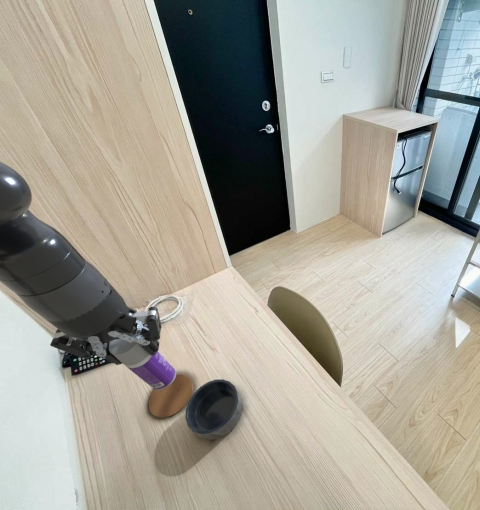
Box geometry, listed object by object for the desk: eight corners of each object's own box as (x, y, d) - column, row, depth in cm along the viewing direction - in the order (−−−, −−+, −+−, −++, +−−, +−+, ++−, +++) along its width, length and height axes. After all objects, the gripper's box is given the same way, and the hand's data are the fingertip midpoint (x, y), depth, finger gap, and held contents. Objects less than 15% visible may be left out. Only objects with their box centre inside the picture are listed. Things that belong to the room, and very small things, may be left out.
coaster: (146, 424, 63) (145, 424, 62) (152, 382, 69) (151, 382, 69) (192, 408, 65) (192, 408, 65) (193, 369, 72) (193, 368, 72)
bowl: (193, 448, 59) (184, 442, 56) (194, 397, 67) (186, 388, 63) (245, 428, 62) (240, 421, 58) (241, 381, 70) (235, 372, 66)
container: (181, 374, 56) (146, 337, 45) (160, 394, 53) (117, 360, 42) (167, 362, 57) (130, 324, 47) (145, 381, 54) (101, 345, 44)
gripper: (-8, 335, 32) (84, 389, 44) (130, 303, 35) (181, 361, 47) (22, 288, 37) (97, 348, 49) (140, 264, 40) (183, 325, 52)
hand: (138, 354), depth 48 cm, fingers closed on container, 4 cm apart
